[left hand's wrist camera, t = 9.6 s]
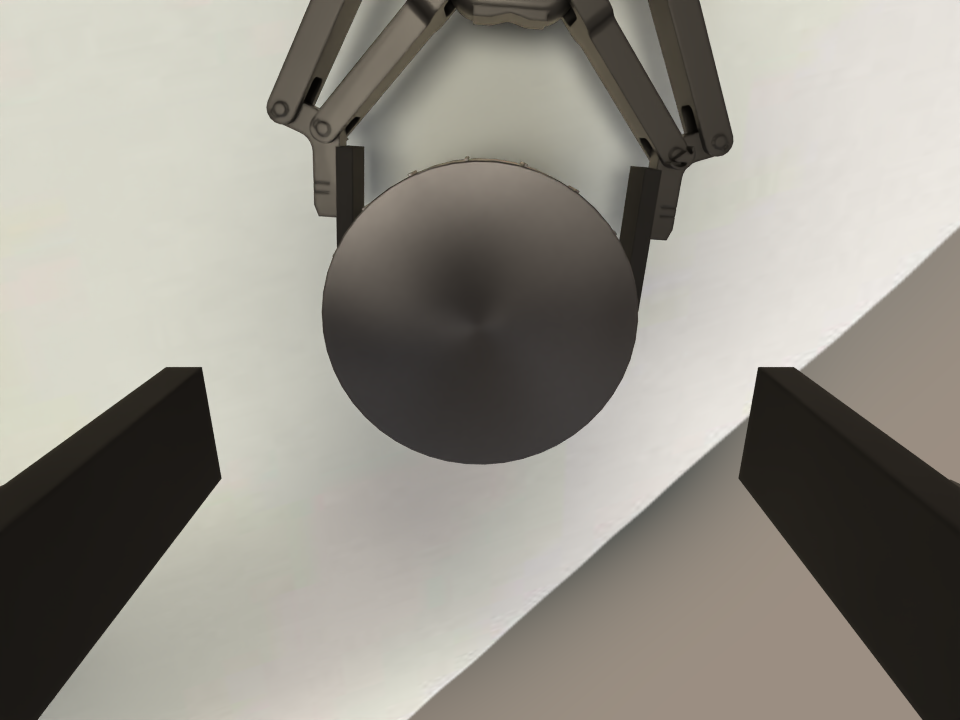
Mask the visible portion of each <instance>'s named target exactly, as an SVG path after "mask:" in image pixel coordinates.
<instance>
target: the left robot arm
mask: <svg viewBox="0 0 960 720" xmlns="http://www.w3.org/2000/svg"><path fill="white" fill-rule="evenodd" d="M220 480H221V473H220V467H219V462H218V456H217V450H216V445H215V439H214V433H213V428H212V422H211V416H210V411H209V405H208V399H207V394H206V388H205V383H204V377H203V371H202V367H166V368H164V369H163V370H162V371H160V372H159V373H157V374H156V375H155V376H153V377H152V378H151V379H149V380H148V381H146V382H145V383H144V384H142V385H141V386H140V387H138V388H137V389H135V390H134V391H133V392H131V393H130V394H129V395H127V396H126V397H124V398H123V399H122V400H120V401H119V402H117V403H116V404H115V405H113V406H112V407H111V408H109V409H108V410H106V411H105V412H104V413H102V414H101V415H100V416H98V417H97V418H95V419H94V420H93V421H91V422H90V423H89V424H87V425H86V426H84V427H83V428H82V429H80V430H79V431H78V432H76V433H75V434H73V435H72V436H71V437H69V438H68V439H67V440H65V441H64V442H62V443H61V444H60V445H58V446H57V447H56V448H54V449H53V450H51V451H50V452H49V453H47V454H46V455H44V456H43V457H42V458H40V459H39V460H38V461H36V462H35V463H33V464H32V465H31V466H29V467H28V468H27V469H25V470H24V471H22V472H21V473H20V474H18V475H17V476H16V477H14V478H13V479H11V480H10V481H9V482H7V483H6V484H4V485H2V486H0V720H38V718H39V717H40V716H41V714H42V713H43V712H44V710H45V709H46V708H47V707H48V705H49V704H50V703H51V701H52V700H53V699H54V697H55V696H56V695H57V693H58V692H59V691H60V689H61V688H62V687H63V686H64V684H65V683H66V682H67V680H68V679H69V678H70V676H71V675H72V674H73V672H74V671H75V670H76V669H77V667H78V666H79V665H80V663H81V662H82V661H83V659H84V658H85V657H86V655H87V654H88V653H89V651H90V650H91V649H92V648H93V646H94V645H95V644H96V642H97V641H98V640H99V638H100V637H101V636H102V634H103V633H104V632H105V630H106V629H107V628H108V627H109V625H110V624H111V623H112V621H113V620H114V619H115V617H116V616H117V615H118V613H119V612H120V611H121V609H122V608H123V607H124V606H125V604H126V603H127V602H128V600H129V599H130V598H131V596H132V595H133V594H134V592H135V591H136V590H137V589H138V587H139V586H140V585H141V583H142V582H143V581H144V579H145V578H146V577H147V575H148V574H149V573H150V571H151V570H152V569H153V568H154V566H155V565H156V564H157V562H158V561H159V560H160V558H161V557H162V556H163V554H164V553H165V552H166V550H167V549H168V548H169V547H170V545H171V544H172V543H173V541H174V540H175V539H176V537H177V536H178V535H179V533H180V532H181V531H182V529H183V528H184V527H185V526H186V524H187V523H188V522H189V520H190V519H191V518H192V516H193V515H194V514H195V512H196V511H197V510H198V509H199V507H200V506H201V505H202V503H203V502H204V501H205V499H206V498H207V497H208V495H209V494H210V493H211V491H212V490H213V489H214V488H215V486H216V485H217V484H218V482H219V481H220ZM739 480H740V481H741V482H742V484H743V485H744V486H745V488H746V489H747V490H748V491H749V493H750V494H751V495H752V497H753V498H754V499H755V501H756V502H757V503H758V505H759V506H760V507H761V509H762V510H763V511H764V512H765V514H766V515H767V516H768V518H769V519H770V520H771V522H772V523H773V524H774V526H775V527H776V528H777V529H778V531H779V532H780V533H781V535H782V536H783V537H784V539H785V540H786V541H787V543H788V544H789V545H790V546H791V548H792V549H793V550H794V552H795V553H796V554H797V556H798V557H799V558H800V560H801V561H802V562H803V564H804V565H805V566H806V568H807V569H808V570H809V571H810V573H811V574H812V575H813V577H814V578H815V579H816V581H817V582H818V583H819V584H820V586H821V587H822V588H823V590H824V591H825V592H826V594H827V595H828V596H829V598H830V599H831V600H832V602H833V603H834V604H835V606H836V607H837V608H838V609H839V611H840V612H841V613H842V615H843V616H844V617H845V619H846V620H847V621H848V623H849V624H850V625H851V627H852V628H853V629H854V630H855V632H856V633H857V634H858V636H859V637H860V638H861V640H862V641H863V642H864V644H865V645H866V646H867V648H868V649H869V650H870V651H871V653H872V654H873V655H874V657H875V658H876V659H877V661H878V662H879V663H880V665H881V666H882V667H883V669H884V670H885V671H886V672H887V674H888V675H889V676H890V678H891V679H892V680H893V681H894V683H895V684H896V686H897V687H898V688H899V689H900V691H901V692H902V693H903V695H904V696H905V697H906V699H907V700H908V701H909V703H910V704H911V705H912V707H913V708H914V709H915V710H916V712H917V713H918V714H919V716H920V717H921V718H922V720H960V484H959V483H957V482H954V481H952V480H949V479H947V478H946V477H944V476H943V475H942V474H940V473H939V472H937V471H936V470H935V469H933V468H932V467H931V466H929V465H928V464H926V463H925V462H924V461H922V460H921V459H920V458H918V457H917V456H916V455H914V454H913V453H911V452H910V451H909V450H907V449H906V448H904V447H903V446H902V445H900V444H899V443H898V442H896V441H895V440H893V439H892V438H891V437H889V436H888V435H887V434H885V433H884V432H882V431H881V430H880V429H878V428H877V427H875V426H874V425H873V424H871V423H870V422H869V421H867V420H866V419H865V418H863V417H862V416H860V415H859V414H858V413H856V412H855V411H854V410H852V409H851V408H849V407H848V406H847V405H845V404H844V403H842V402H841V401H840V400H838V399H837V398H836V397H834V396H833V395H831V394H830V393H829V392H827V391H826V390H825V389H823V388H822V387H820V386H819V385H818V384H816V383H815V382H814V381H812V380H811V379H809V378H808V377H807V376H805V375H804V374H803V373H801V372H800V371H798V370H797V369H796V368H794V367H758V371H757V377H756V383H755V388H754V394H753V399H752V405H751V411H750V416H749V422H748V428H747V434H746V439H745V445H744V450H743V456H742V462H741V467H740V473H739Z"/></svg>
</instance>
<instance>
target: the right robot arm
mask: <svg viewBox="0 0 960 720" xmlns="http://www.w3.org/2000/svg"><path fill="white" fill-rule="evenodd" d="M361 2H362V0H310V3H309V5H308V8H307V10H306V12H305V15H304V17H303V19H302V22H301V24H300V26H299V29H298V31H297V33H296V36H295V38H294V41H293V43H292V45H291V48H290V50H289V52H288V55H287V57H286V59H285V62H284V64H283V66H282V69H281V71H280V74H279V76H278V78H277V81H276V83H275V85H274V88H273V90H272V92H271V95H270V97H269V99H268V102H267V113H268V115H269V117H270V118H271V119H272V120H273V121H274V122H276V123H278V124H283V125H285V126H287V127H289V128H292V129H294V130H296V131H298V132H300V133H302V134H304V135H305V136H306V137H307V138H308V139H309V141H310V143H311V145H312V149H313V177H314V205H315V208H316V210H317V213H318V215H319V216H325V217H337V247H338V245H339V243H340V242H341V240H342V238H343V236H344V234H345V233H346V231H347V230H348V229H349V227H350V226H351V224H352V223H353V222H354V220H355V219H356V218H357V216H358V215H359V214H360V213H361V212H362V211H363V210H362V208H363V207H364V147H362V146H346V141H347V140H348V138H347V137H348V135H349V134H350V133H351V132H352V131H353V129H354V128H355V127H356V126H357V125H358V124H359V122H360V121H361V120H362V119H363V118H364V116H365V115H366V114H367V113H368V112H369V110H370V109H371V108H372V107H373V106H374V104H375V103H376V102H377V101H378V100H379V98H380V97H381V96H382V95H383V94H384V92H385V91H386V90H387V89H388V88H389V86H390V85H391V84H392V83H393V82H394V80H395V79H396V78H397V77H398V76H399V75H400V73H401V72H402V71H403V70H404V69H405V67H406V66H407V65H408V64H409V63H410V61H411V60H412V59H413V58H414V57H415V55H416V54H417V53H418V52H419V51H420V49H421V48H422V47H423V46H424V45H425V43H426V42H427V41H428V40H429V39H430V37H431V36H432V35H433V34H434V33H435V32H437V31H438V30H439V29H440V28H441V27H442V26H443V25H444V24H445V22H446V21H447V20H448V19H449V18H450V16H451V15H452V14H453V13H454V12H455V10H456V9H457V10H458V12H459V13H460V14H461V15H463V16H464V17H465V18H467V19H469V20H471V21H473V24H476V25H489V26H491V25H495V24H500V23H504V22H511V23H513V24H516V25H518V26H521V27H524V28H527V29H540V30H543V29H544V27H546V26H549V25H552V24H554V23H556V22H557V21H559V20H560V19H562V21H563V22H564V24H565V26H566V27H567V29H568V31H569V32H570V34H571V36H572V37H573V39H574V40H575V41H576V42H577V43H578V44H579V45H580V46H581V48H582V49H583V51H584V53H585V54H586V56H587V58H588V59H589V61H590V63H591V64H592V66H593V68H594V69H595V71H596V73H597V74H598V76H599V78H600V79H601V81H602V83H603V84H604V86H605V88H606V89H607V91H608V93H609V94H610V96H611V98H612V99H613V101H614V103H615V104H616V106H617V108H618V109H619V111H620V113H621V114H622V116H623V118H624V119H625V121H626V123H627V124H628V126H629V128H630V129H631V131H632V133H633V134H634V136H635V138H636V139H637V141H638V143H639V144H640V146H641V148H642V149H643V151H644V153H645V154H646V156H647V158H648V159H649V161H650V162H649V168H647V167H635V166H631V167H630V173H629V180H628V187H627V193H626V200H625V207H624V213H623V220H622V226H621V233H620V240H619V241H620V243H621V245H622V247H623V249H624V251H625V254H626V256H627V258H628V260H629V263H630V266H631V270H632V273H633V277H634V280H635V286H636V293H637V300H638V310H639V304H640V298H641V292H642V286H643V280H644V274H645V268H646V262H647V256H648V250H649V245H650V239H654V240H667V238H668V237H669V235H670V233H671V232H672V230H673V224H674V219H675V218H674V217H675V213H676V207H677V202H678V197H679V191H680V186H681V180H682V176H683V173H684V171H685V170H686V169H687V168H688V167H689V166H690V165H691V164H692V163H695V162H697V161H700V160H704V159H707V158H711V157H714V156H722V155H724V154H726V153H727V152H728V151H729V150H730V149H731V147H732V144H733V134H732V130H731V126H730V122H729V118H728V114H727V110H726V106H725V102H724V98H723V94H722V90H721V86H720V82H719V78H718V74H717V70H716V66H715V62H714V58H713V54H712V50H711V46H710V42H709V38H708V34H707V29H706V25H705V21H704V17H703V13H702V9H701V5H700V1H699V0H648V2H649V7H650V10H651V14H652V17H653V21H654V25H655V28H656V32H657V36H658V39H659V43H660V47H661V50H662V54H663V58H664V61H665V65H666V68H667V72H668V76H669V79H670V83H671V87H672V90H673V94H674V98H675V101H676V105H677V108H678V112H679V116H680V119H681V123H682V127H683V130H684V134H681V133H680V131H679V129H678V127H677V126H676V124H675V122H674V120H673V119H672V117H671V115H670V113H669V112H668V110H667V108H666V106H665V105H664V103H663V101H662V99H661V98H660V96H659V94H658V92H657V91H656V89H655V87H654V86H653V84H652V82H651V80H650V79H649V77H648V75H647V73H646V72H645V70H644V68H643V66H642V65H641V63H640V61H639V59H638V58H637V56H636V54H635V52H634V51H633V49H632V47H631V46H630V44H629V42H628V40H627V39H626V37H625V35H624V33H623V32H622V30H621V28H620V26H619V25H618V23H617V21H616V19H615V17H614V13H613V9H612V6H611V4H610V2H609V0H407V1H406V3H405V4H404V5H403V6H402V8H401V9H400V10H399V11H398V13H397V14H396V15H395V16H394V18H393V19H392V20H391V21H390V23H389V24H388V25H387V26H386V28H385V29H384V30H383V31H382V32H381V34H380V35H379V36H378V37H377V39H376V40H375V41H374V42H373V44H372V45H371V46H370V47H369V49H368V50H367V51H366V52H365V53H364V55H363V56H362V57H361V58H360V60H359V61H358V62H357V63H356V65H355V66H354V67H353V68H352V70H351V71H350V72H349V73H348V74H347V76H346V77H345V78H344V79H343V81H342V82H341V83H340V84H339V86H338V87H337V88H336V89H335V91H334V92H333V93H332V94H331V96H330V97H329V98H328V99H327V100H326V102H325V103H324V104H323V105H322V107H321V108H318V107H316V106H315V104H316V101H317V99H318V97H319V95H320V92H321V90H322V88H323V86H324V84H325V81H326V79H327V77H328V75H329V72H330V70H331V68H332V66H333V64H334V61H335V59H336V57H337V55H338V53H339V50H340V48H341V46H342V44H343V41H344V39H345V37H346V35H347V33H348V30H349V28H350V26H351V24H352V21H353V19H354V17H355V15H356V13H357V10H358V8H359V6H360V4H361Z"/></svg>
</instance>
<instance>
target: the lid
mask: <svg viewBox="0 0 960 720" xmlns="http://www.w3.org/2000/svg"><path fill="white" fill-rule="evenodd" d="M408 176H409V177H407V178H406V179H404V180H402V181H401V182H399V183H397V184H395V185H394V186H392V187H390V188H389V189H387V190H386V191H385V192H383V193H382V194H381V195H380V196H378V197H377V198H376V199H374V200H373V201H372V202H371V203H370V204H368V205H366V206H364V207H363V208H362V210H363V211H362V212H361V213H360V214H359V215H358V216H357V218H356V219H355V220H354V222H353V223H352V224H351V226H350V227H349V229H348V230H347V231H346V233H345V234H344V236H343V238H342V240H341V242H340V243H339V245H338V247H337V249H336V251H335V253H334V254H333V258H332V261H331V264H330V267H329V269H328V272H327V277H326V282H325V286H324V291H323V303H322V322H323V334H324V339H325V344H326V348H327V352H328V355H329V358H330V361H331V364H332V367H333V370H334V372H335V374H336V376H337V378H338V380H339V382H340V384H341V386H342V387H343V389H344V390H345V392H346V393H347V395H348V396H349V398H350V399H351V401H352V402H353V404H354V405H355V406H356V407H357V408H358V409H359V410H360V412H361V413H362V414H363V415H364V416H365V417H366V418H367V419H368V420H369V421H370V422H371V423H372V424H374V425H375V426H376V427H377V428H378V429H379V430H380V431H382V432H383V433H385V434H386V435H388V436H389V437H390V438H392V439H393V440H395V441H396V442H398V443H400V444H402V445H404V446H406V447H408V448H410V449H411V450H414V451H417V452H419V453H422V454H424V455H427V456H429V457H433V458H437V459H441V460H445V461H449V462H456V463H463V464H496V463H505V462H510V461H515V460H520V459H524V458H527V457H530V456H533V455H536V454H539V453H541V452H544V451H546V450H548V449H550V448H552V447H554V446H557V445H558V444H560V443H562V442H563V441H565V440H566V439H568V438H570V437H571V436H573V435H574V434H576V433H577V432H578V431H579V430H581V429H582V428H583V427H584V426H586V425H587V424H588V423H589V422H590V421H591V420H592V419H593V418H594V417H595V416H596V415H597V414H598V413H599V412H600V411H601V410H602V408H603V407H604V406H605V405H606V403H607V402H608V401H609V399H610V398H611V397H612V395H613V394H614V392H615V390H616V389H617V387H618V385H619V384H620V382H621V380H622V378H623V376H624V374H625V371H626V369H627V367H628V364H629V362H630V359H631V355H632V352H633V348H634V344H635V340H636V332H637V325H638V300H637V293H636V286H635V280H634V277H633V273H632V270H631V266H630V263H629V260H628V258H627V256H626V254H625V251H624V249H623V247H622V245H621V243H620V241H619V239H618V238H617V236H616V235H617V234H616V232H615V231H613V230H612V228H611V227H610V225H609V224H608V223H607V222H606V220H605V219H604V218H603V217H602V216H601V215H600V213H599V212H598V211H597V210H596V209H595V208H594V207H593V206H592V205H591V204H590V203H589V202H588V201H586V200H585V199H584V198H583V197H582V196H581V195H580V194H578V193H579V191H578V190H577V189H575V188H573V187H571V186H566V185H565V184H563V183H562V182H560V181H558V180H556V179H555V178H553V177H551V176H549V175H546V174H544V173H542V172H540V171H538V170H536V169H534V168H531V167H528V166H527V164H526V163H524V162H520V164H518V163H515V162H510V161H504V160H498V159H482V158H473V159H469V156H466V157H465V159H463V160H454V161H450V162H446V163H442V164H438V165H434V166H432V167H429V168H427V169H424V170H422V171H420V172H417V170H415V171H413V172H411V173H409V174H408Z"/></svg>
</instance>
